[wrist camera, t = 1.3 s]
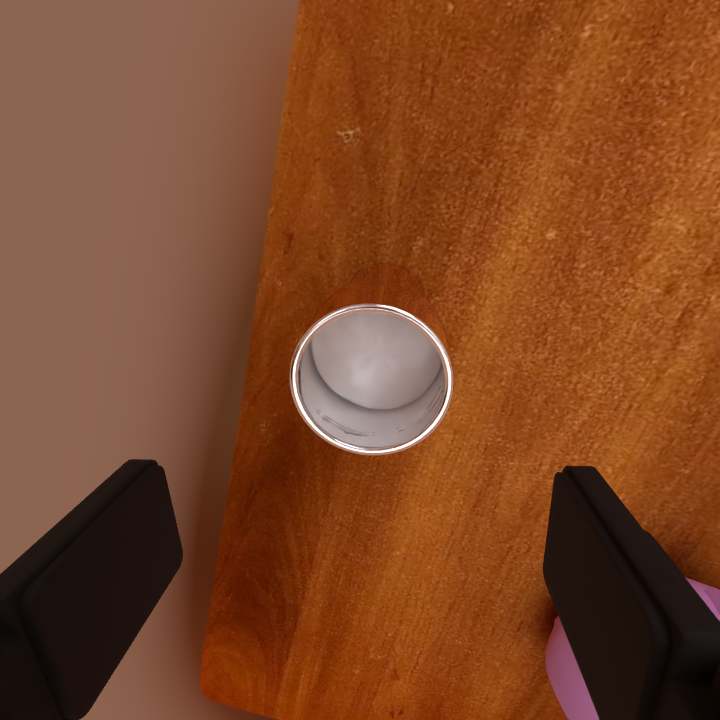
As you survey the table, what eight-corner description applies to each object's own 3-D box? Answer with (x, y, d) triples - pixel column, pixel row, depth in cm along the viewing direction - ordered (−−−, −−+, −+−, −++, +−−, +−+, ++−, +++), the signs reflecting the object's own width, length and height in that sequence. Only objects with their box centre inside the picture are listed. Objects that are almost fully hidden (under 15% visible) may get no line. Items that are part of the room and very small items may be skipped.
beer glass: (382, 235, 29) (365, 257, 15) (452, 303, 30) (498, 385, 16) (318, 306, 31) (249, 385, 17) (385, 367, 32) (374, 489, 18)
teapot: (838, 568, 34) (1142, 816, 20) (681, 705, 41) (827, 961, 27) (628, 479, 33) (794, 675, 19) (503, 634, 40) (559, 862, 26)
